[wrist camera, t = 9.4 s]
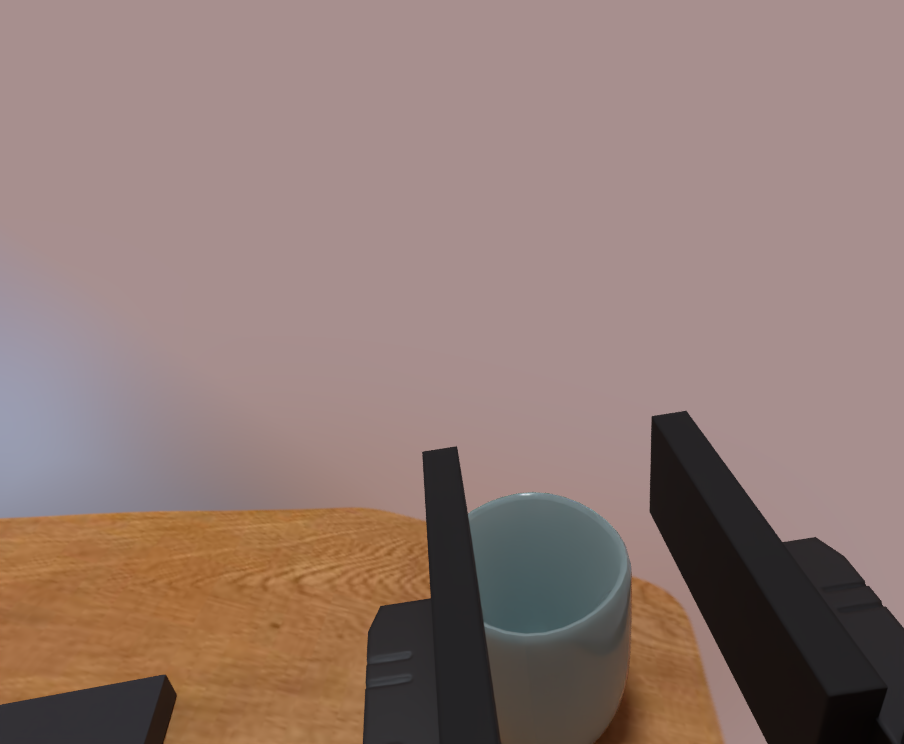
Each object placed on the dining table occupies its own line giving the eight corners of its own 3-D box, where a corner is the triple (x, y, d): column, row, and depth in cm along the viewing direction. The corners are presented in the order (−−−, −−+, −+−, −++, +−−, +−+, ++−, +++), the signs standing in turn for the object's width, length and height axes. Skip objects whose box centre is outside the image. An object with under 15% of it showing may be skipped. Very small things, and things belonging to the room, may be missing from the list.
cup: (541, 834, 26) (522, 679, 21) (432, 700, 32) (397, 553, 27) (664, 712, 30) (672, 557, 25) (546, 611, 36) (534, 468, 31)
